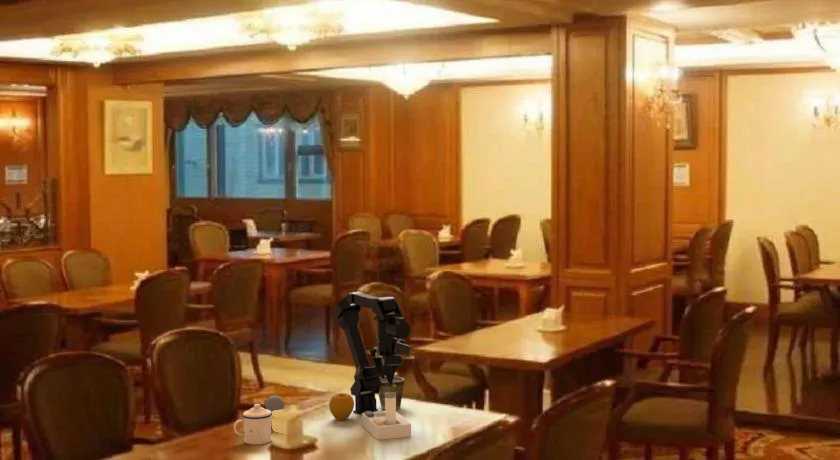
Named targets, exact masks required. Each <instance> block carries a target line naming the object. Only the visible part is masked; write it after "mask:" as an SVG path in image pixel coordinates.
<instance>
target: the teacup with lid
mask: <svg viewBox="0 0 840 460" xmlns="http://www.w3.org/2000/svg"><path fill="white" fill-rule="evenodd" d="M271 415H272V412H271V411H270V410H267V409H266V408H264V407H262V406H261V404H259V403H255V404H254V405H253V407H251V408H249V409H248V410H245V411H244V412H243V413H242V417H243V419H242V418H241V419H237V420H236V421H234V423H233V431H234V432H235V433H236V434H237V435H238V436H242V437H243V441H244V443H246V444H248V445H255V446H258V445H259V446H260V445H265V444H268V443H270V442H271V441H272V440H271V426H273V425H272V421H271ZM240 423H243V432H239V431H238V430H237V425H238V424H240ZM270 440H271V441H270Z"/></svg>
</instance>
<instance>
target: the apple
mask: <svg viewBox="0 0 840 460" xmlns="http://www.w3.org/2000/svg"><path fill="white" fill-rule="evenodd" d="M328 405H329V411H330V413H331V415H332V416H333V417H334V419H335V420H336V421H345V420H347V419H348V418H349V417H350V415H351V414H352V413H353V411H354V408H355V399H354V397H353V395H351V394H348V393H345V392H343V393H342V392H341V393H336V394H334V395H332V396H331V398H330V400H329V404H328Z"/></svg>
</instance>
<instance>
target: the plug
mask: <svg viewBox="0 0 840 460" xmlns="http://www.w3.org/2000/svg"><path fill="white" fill-rule="evenodd" d="M384 411H385V425H394V424H396V412H397V409H396V393H395V392H386V393H385V409H384Z"/></svg>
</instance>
